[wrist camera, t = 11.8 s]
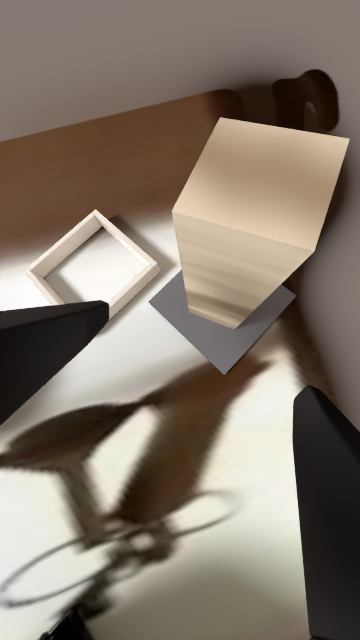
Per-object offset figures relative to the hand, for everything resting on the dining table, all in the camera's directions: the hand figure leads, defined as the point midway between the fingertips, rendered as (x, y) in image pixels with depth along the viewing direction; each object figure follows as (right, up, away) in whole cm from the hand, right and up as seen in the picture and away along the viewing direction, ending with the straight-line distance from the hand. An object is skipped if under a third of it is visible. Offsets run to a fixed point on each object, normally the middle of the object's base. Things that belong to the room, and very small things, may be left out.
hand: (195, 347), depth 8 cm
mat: (+4, +3, +12) cm, 13 cm away
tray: (-11, +7, +14) cm, 19 cm away
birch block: (+4, +3, +11) cm, 12 cm away
